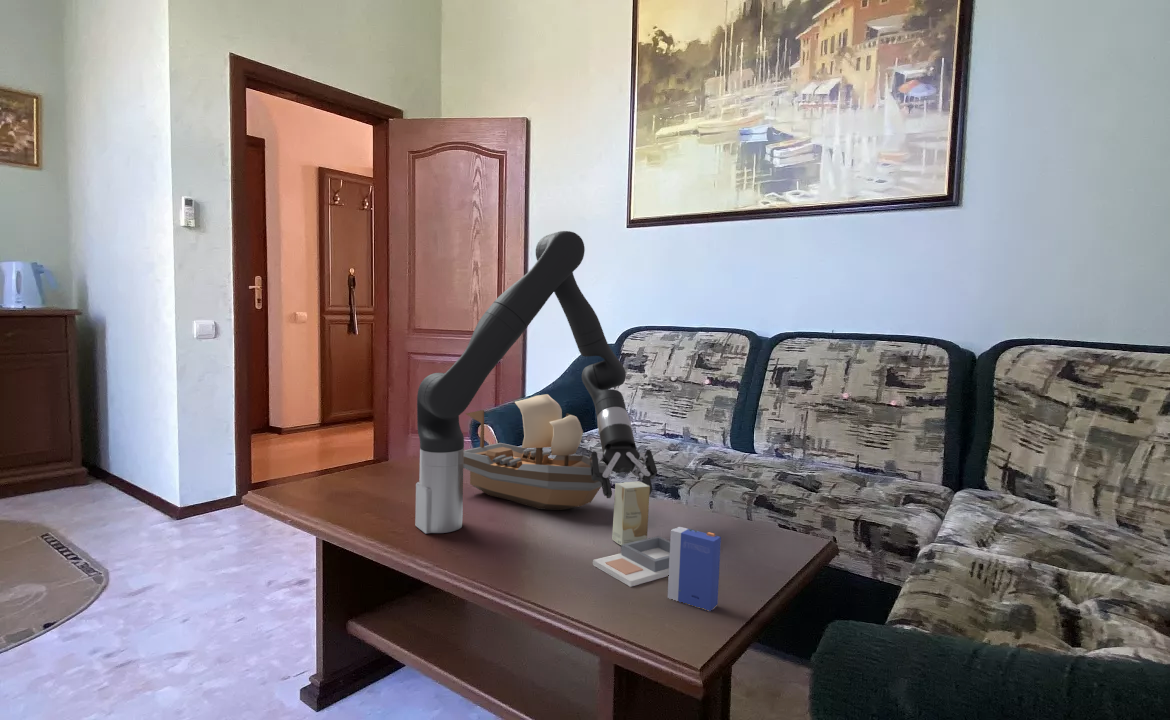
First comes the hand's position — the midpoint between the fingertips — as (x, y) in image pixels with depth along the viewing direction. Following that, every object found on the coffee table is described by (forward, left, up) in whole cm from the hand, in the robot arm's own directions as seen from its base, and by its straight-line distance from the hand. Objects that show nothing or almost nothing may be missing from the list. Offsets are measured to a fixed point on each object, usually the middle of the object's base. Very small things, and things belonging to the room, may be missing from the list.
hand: (629, 495), depth 132 cm
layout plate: (-7, -13, -9) cm, 18 cm away
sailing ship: (-4, +35, -9) cm, 36 cm away
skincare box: (-1, -2, -9) cm, 10 cm away
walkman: (-10, -29, -9) cm, 32 cm away
